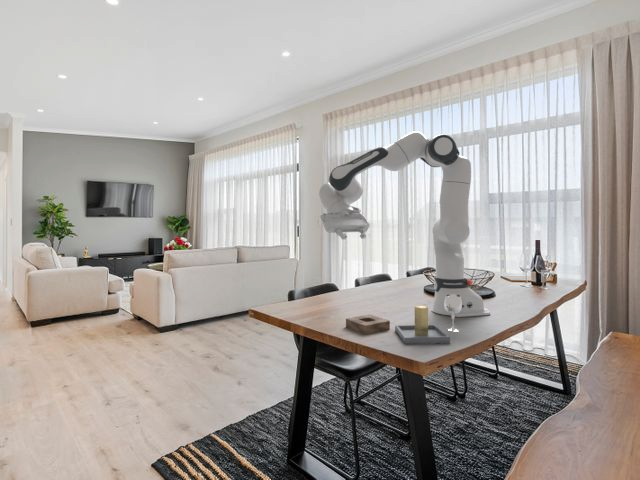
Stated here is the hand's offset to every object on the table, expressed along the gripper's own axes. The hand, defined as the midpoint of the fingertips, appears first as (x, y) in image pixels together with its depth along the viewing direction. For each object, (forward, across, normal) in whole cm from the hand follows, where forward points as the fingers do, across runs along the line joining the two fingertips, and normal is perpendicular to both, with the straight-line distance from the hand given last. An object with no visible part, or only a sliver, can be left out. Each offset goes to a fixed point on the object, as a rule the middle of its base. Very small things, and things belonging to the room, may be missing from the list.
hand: (354, 238), depth 149 cm
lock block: (+33, -6, +11) cm, 35 cm away
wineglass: (+46, +17, -2) cm, 49 cm away
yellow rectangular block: (+45, +2, -2) cm, 45 cm away
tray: (+46, +2, -1) cm, 46 cm away
